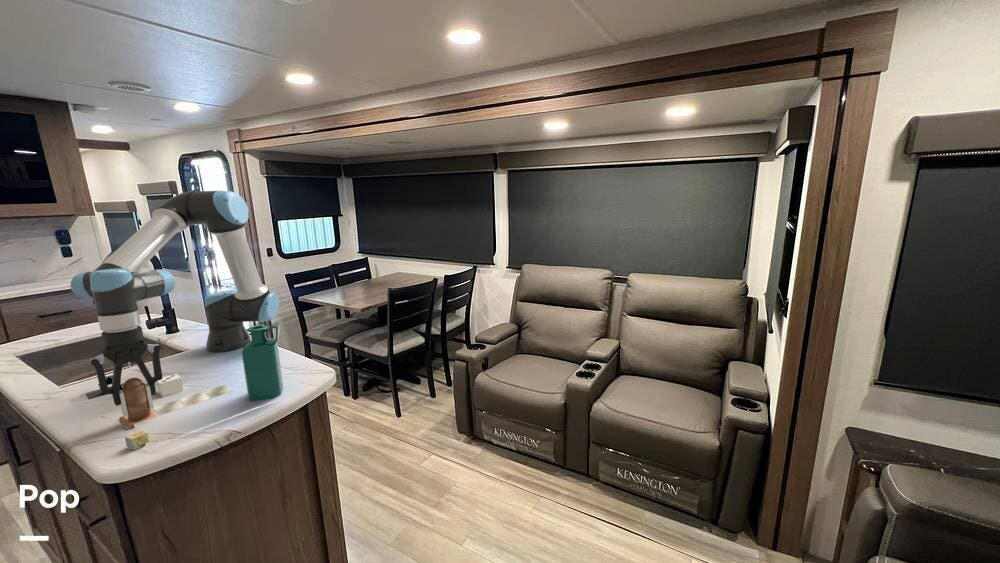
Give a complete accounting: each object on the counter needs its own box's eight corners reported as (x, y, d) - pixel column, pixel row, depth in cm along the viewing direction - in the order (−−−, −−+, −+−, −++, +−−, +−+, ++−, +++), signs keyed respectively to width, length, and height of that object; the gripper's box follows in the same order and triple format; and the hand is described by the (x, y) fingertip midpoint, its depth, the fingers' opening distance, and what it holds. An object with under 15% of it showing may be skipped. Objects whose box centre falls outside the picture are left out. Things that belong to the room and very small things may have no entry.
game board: (226, 384, 122) (226, 382, 122) (237, 392, 117) (236, 390, 117) (119, 418, 103) (119, 416, 103) (126, 429, 98) (125, 427, 98)
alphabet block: (126, 448, 90) (124, 436, 90) (143, 440, 93) (140, 429, 93) (133, 451, 89) (131, 439, 89) (149, 443, 92) (147, 432, 91)
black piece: (82, 403, 112) (79, 388, 111) (79, 396, 117) (76, 381, 116) (142, 387, 123) (139, 373, 122) (137, 380, 127) (134, 367, 126)
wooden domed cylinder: (148, 411, 106) (141, 373, 104) (152, 416, 103) (144, 377, 101) (127, 417, 102) (119, 379, 100) (130, 423, 100) (121, 383, 97)
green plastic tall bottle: (247, 404, 110) (236, 332, 106) (253, 391, 118) (243, 324, 113) (285, 397, 114) (276, 327, 109) (288, 385, 121) (280, 320, 117)
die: (179, 388, 121) (176, 373, 120) (183, 392, 118) (181, 377, 117) (158, 394, 117) (155, 379, 116) (163, 399, 114) (159, 383, 113)
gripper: (161, 318, 107) (175, 394, 111) (69, 334, 93) (89, 420, 98) (168, 322, 103) (182, 401, 107) (73, 340, 89) (94, 429, 93)
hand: (138, 410), depth 102 cm, fingers closed on wooden domed cylinder, 4 cm apart
